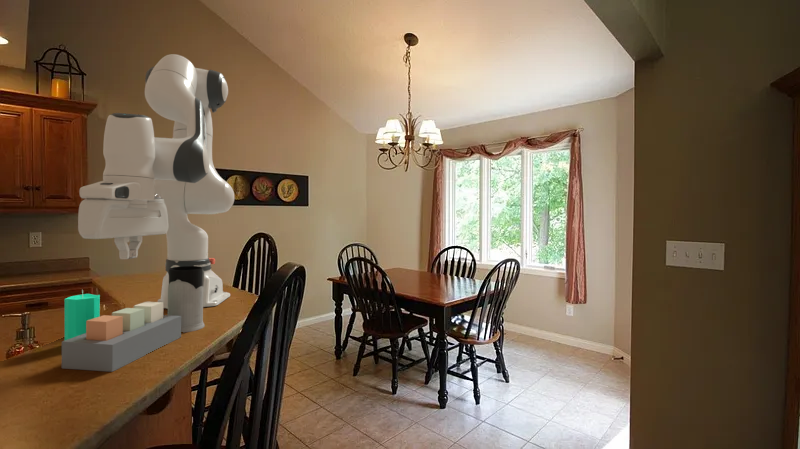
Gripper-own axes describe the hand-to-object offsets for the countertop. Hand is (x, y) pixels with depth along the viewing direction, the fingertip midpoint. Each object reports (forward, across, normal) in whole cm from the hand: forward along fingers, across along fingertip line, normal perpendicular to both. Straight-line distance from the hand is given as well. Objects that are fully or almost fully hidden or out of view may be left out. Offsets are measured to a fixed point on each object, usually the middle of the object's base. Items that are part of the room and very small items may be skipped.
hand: (128, 258), depth 82 cm
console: (+19, 0, 0) cm, 19 cm away
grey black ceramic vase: (+20, -20, +1) cm, 28 cm away
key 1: (+17, +6, 0) cm, 18 cm away
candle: (+20, -2, -12) cm, 23 cm away
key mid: (+17, 0, 0) cm, 17 cm away
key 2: (+17, -6, 0) cm, 18 cm away
